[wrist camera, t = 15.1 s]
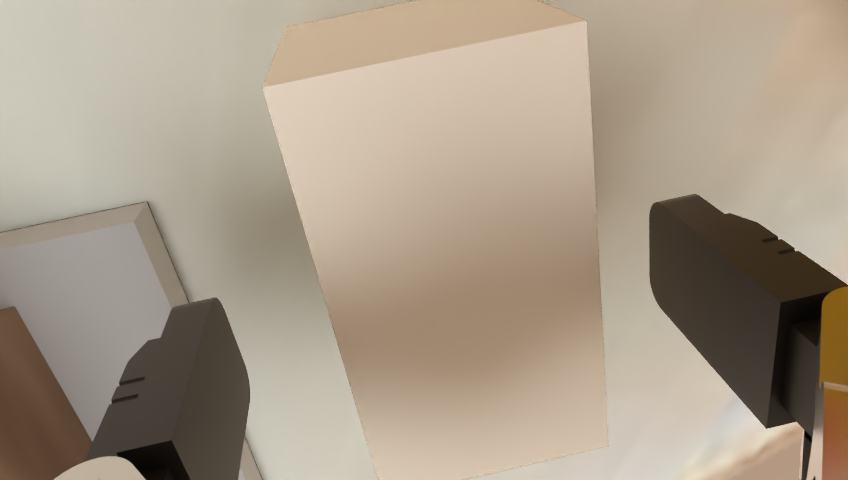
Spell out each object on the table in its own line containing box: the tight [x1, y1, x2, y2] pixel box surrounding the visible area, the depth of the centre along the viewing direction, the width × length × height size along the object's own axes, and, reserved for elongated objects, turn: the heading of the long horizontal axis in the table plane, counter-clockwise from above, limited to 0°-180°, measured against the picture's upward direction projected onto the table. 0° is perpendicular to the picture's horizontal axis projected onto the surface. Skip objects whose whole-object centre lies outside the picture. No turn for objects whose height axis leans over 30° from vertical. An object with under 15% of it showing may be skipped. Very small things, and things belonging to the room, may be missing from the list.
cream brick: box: [262, 0, 609, 480], centre depth 14 cm, size 5×9×6 cm, turn 10°
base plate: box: [0, 202, 262, 480], centre depth 18 cm, size 12×12×1 cm
